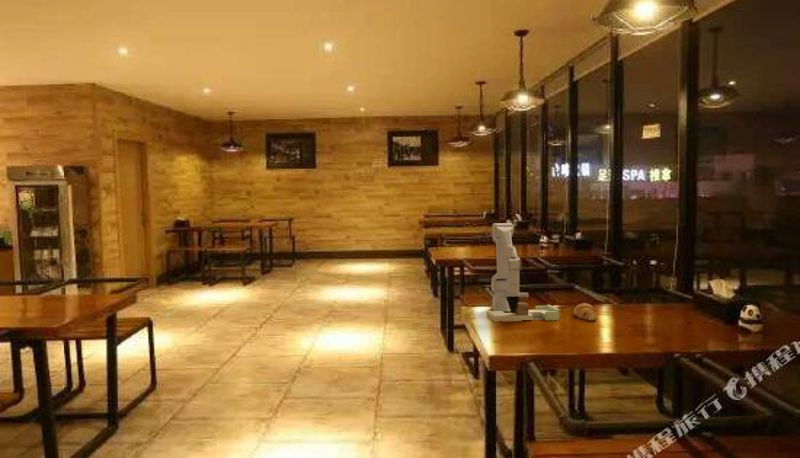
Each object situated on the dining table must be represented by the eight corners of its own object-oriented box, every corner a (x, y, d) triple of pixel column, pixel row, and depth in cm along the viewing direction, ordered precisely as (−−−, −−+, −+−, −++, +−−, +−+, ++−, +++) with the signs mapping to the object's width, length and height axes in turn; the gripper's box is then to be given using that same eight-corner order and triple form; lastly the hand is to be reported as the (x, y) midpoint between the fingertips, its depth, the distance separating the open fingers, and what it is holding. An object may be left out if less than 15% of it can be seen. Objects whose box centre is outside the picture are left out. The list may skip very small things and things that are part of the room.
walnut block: (514, 313, 278) (514, 302, 278) (524, 312, 279) (524, 302, 278) (518, 315, 273) (518, 304, 273) (528, 315, 274) (528, 304, 273)
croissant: (598, 329, 271) (607, 314, 271) (580, 319, 270) (588, 304, 270) (582, 318, 292) (589, 304, 292) (564, 309, 291) (572, 295, 291)
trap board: (486, 315, 284) (486, 306, 284) (548, 313, 288) (548, 304, 288) (495, 322, 270) (495, 312, 270) (559, 320, 274) (560, 310, 274)
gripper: (500, 285, 269) (500, 315, 270) (530, 285, 271) (530, 314, 272) (495, 283, 276) (495, 311, 277) (525, 282, 278) (525, 311, 279)
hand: (512, 312), depth 275 cm, fingers closed
